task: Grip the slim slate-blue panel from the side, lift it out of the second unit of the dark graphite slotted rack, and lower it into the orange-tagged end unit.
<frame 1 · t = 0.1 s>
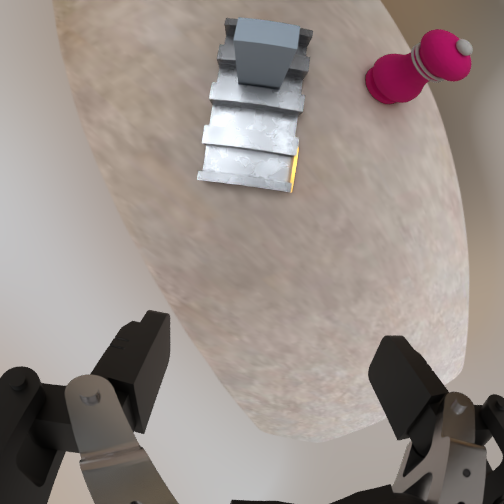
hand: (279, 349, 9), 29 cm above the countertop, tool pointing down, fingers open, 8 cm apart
panel: (259, 83, 30), point 1 cm above the countertop, touching rack
pepper mill: (382, 85, 32), on the countertop
rack: (256, 104, 33), on the countertop
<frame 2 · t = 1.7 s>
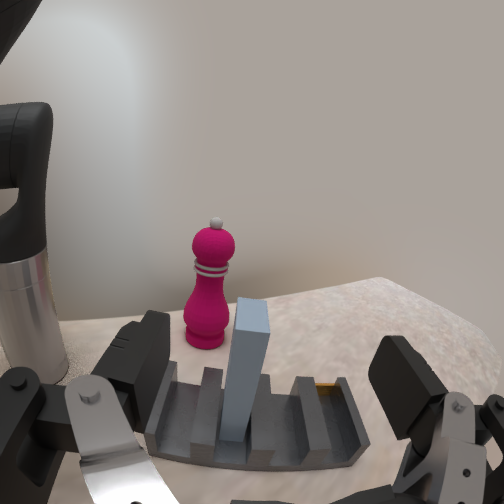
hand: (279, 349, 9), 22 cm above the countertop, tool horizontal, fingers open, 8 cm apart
panel: (231, 423, 26), point 1 cm above the countertop, touching rack
pepper mill: (204, 338, 43), on the countertop
rack: (254, 432, 26), on the countertop
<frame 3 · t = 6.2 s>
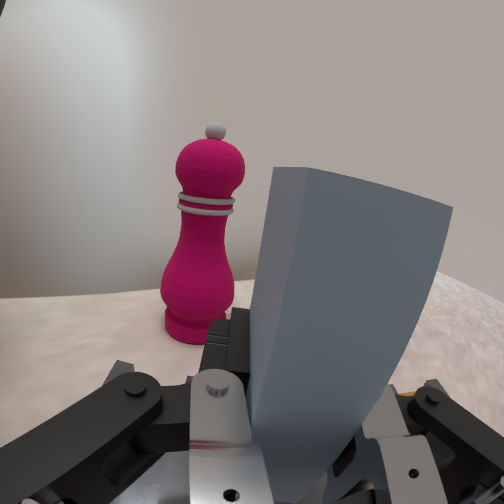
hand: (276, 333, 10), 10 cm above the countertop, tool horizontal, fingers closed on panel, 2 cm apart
panel: (246, 489, 10), point 2 cm above the countertop, touching gripper, rack
pepper mill: (194, 328, 28), on the countertop
rack: (289, 497, 11), on the countertop
when the fingers open (12 cm above the countertop, at t = 11.1 s): panel drops 1 cm, resting on rack.
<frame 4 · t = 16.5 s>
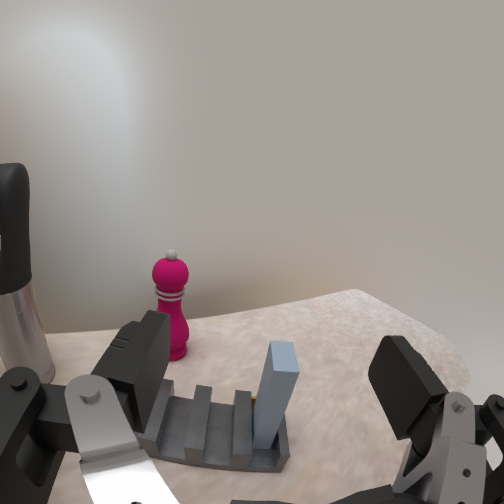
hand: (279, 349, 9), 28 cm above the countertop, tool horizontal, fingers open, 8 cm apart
panel: (259, 434, 31), point 1 cm above the countertop, touching rack
pepper mill: (169, 351, 48), on the countertop
rack: (198, 434, 31), on the countertop
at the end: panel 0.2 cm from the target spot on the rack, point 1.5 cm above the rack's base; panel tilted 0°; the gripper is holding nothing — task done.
